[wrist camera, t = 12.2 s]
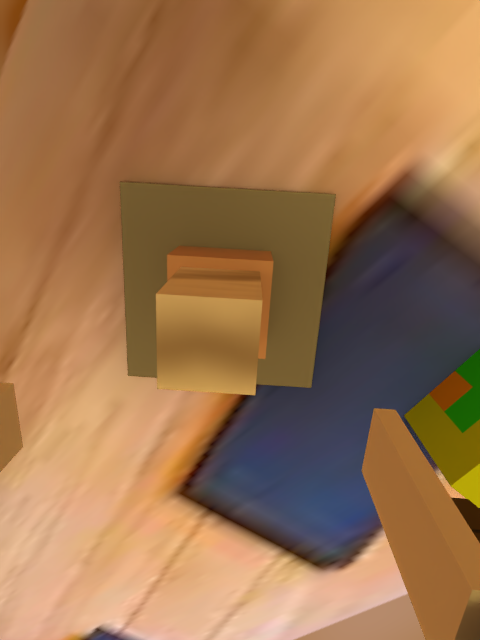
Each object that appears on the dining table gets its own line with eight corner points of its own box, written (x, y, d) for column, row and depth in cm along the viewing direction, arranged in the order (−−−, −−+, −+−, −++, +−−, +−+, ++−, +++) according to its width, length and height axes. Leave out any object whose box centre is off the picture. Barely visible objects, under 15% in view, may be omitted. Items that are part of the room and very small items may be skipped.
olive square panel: (123, 181, 33) (119, 181, 32) (333, 194, 33) (336, 194, 32) (130, 371, 39) (128, 375, 38) (309, 382, 39) (311, 387, 38)
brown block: (181, 266, 29) (155, 293, 22) (260, 271, 29) (262, 300, 22) (180, 340, 31) (157, 388, 24) (254, 344, 31) (255, 395, 24)
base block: (179, 245, 34) (167, 254, 29) (270, 251, 34) (273, 261, 29) (178, 331, 36) (167, 352, 32) (263, 336, 36) (265, 358, 32)
